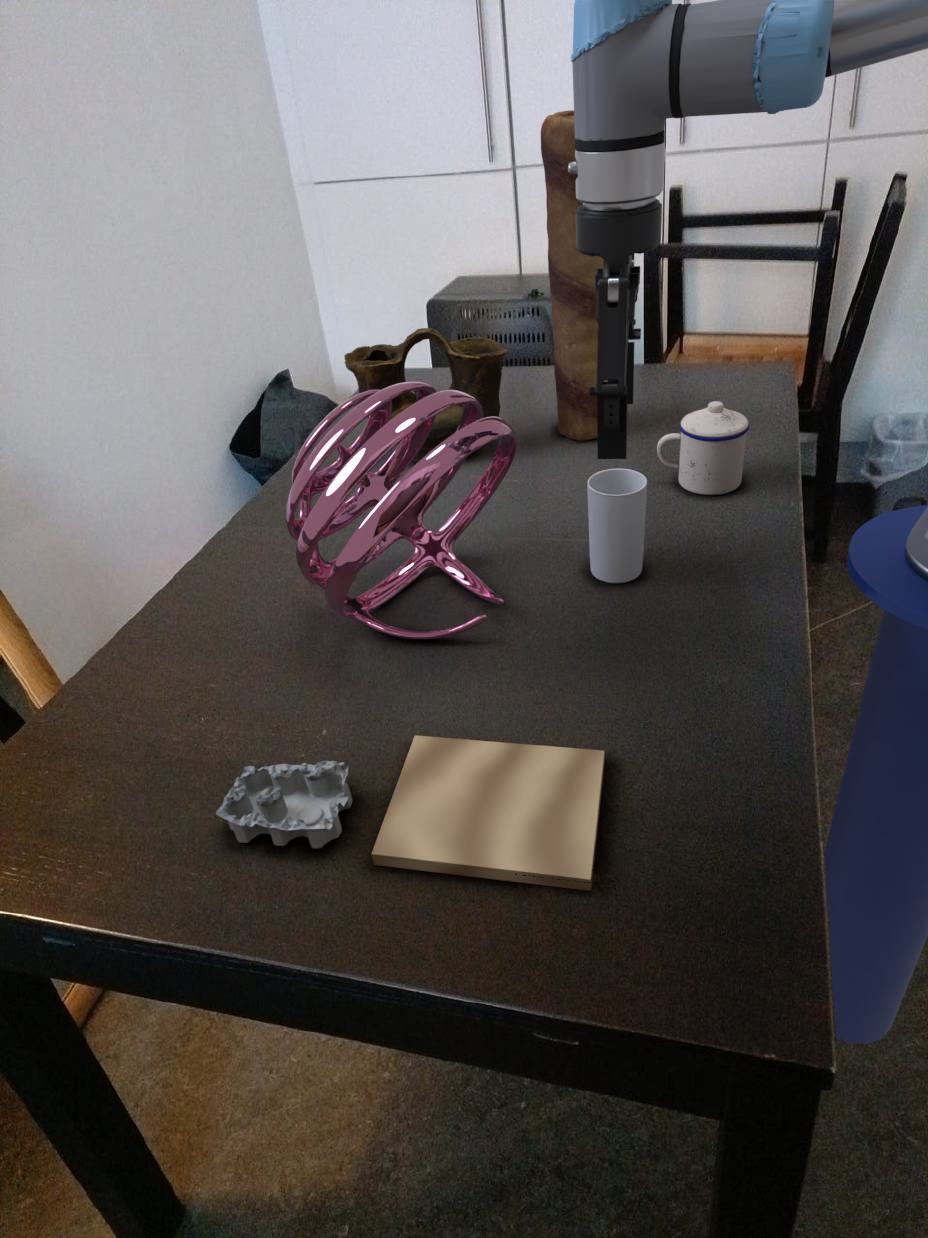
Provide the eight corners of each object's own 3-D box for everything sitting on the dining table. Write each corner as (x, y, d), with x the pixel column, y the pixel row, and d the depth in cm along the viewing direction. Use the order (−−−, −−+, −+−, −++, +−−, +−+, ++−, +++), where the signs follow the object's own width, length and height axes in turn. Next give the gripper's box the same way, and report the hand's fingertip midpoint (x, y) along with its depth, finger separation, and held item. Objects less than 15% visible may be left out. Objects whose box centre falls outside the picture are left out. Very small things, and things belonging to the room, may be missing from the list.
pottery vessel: (358, 473, 131) (334, 348, 119) (366, 444, 139) (344, 326, 128) (515, 460, 129) (506, 332, 117) (513, 432, 137) (505, 310, 126)
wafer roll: (551, 418, 140) (538, 112, 114) (613, 413, 140) (615, 103, 113) (553, 444, 132) (541, 119, 106) (620, 438, 131) (624, 109, 105)
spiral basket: (628, 458, 81) (433, 281, 84) (432, 642, 71) (219, 434, 74) (552, 569, 107) (405, 430, 110) (400, 715, 97) (244, 558, 100)
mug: (641, 587, 97) (644, 496, 90) (584, 583, 99) (583, 494, 92) (648, 543, 105) (651, 456, 98) (596, 540, 107) (595, 455, 100)
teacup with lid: (740, 467, 119) (748, 389, 112) (745, 497, 112) (754, 415, 105) (655, 467, 122) (658, 391, 115) (655, 496, 115) (658, 417, 108)
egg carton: (361, 791, 75) (353, 760, 73) (333, 858, 70) (323, 826, 67) (255, 779, 78) (245, 748, 76) (219, 842, 72) (206, 811, 70)
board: (604, 762, 75) (604, 750, 74) (591, 891, 64) (591, 879, 63) (416, 746, 79) (414, 735, 79) (373, 865, 68) (370, 854, 68)
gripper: (588, 179, 83) (590, 384, 95) (559, 235, 63) (566, 484, 76) (664, 173, 81) (656, 383, 93) (659, 229, 61) (649, 484, 74)
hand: (616, 428), depth 84 cm, fingers open, 13 cm apart
